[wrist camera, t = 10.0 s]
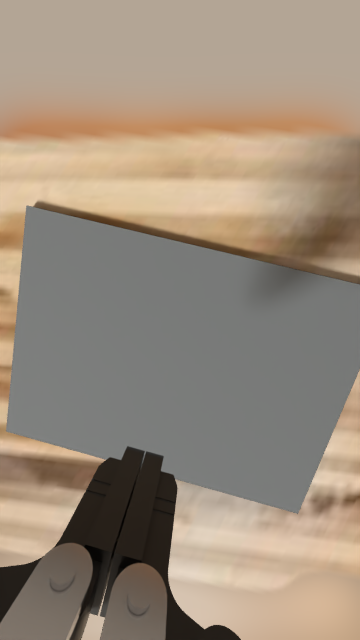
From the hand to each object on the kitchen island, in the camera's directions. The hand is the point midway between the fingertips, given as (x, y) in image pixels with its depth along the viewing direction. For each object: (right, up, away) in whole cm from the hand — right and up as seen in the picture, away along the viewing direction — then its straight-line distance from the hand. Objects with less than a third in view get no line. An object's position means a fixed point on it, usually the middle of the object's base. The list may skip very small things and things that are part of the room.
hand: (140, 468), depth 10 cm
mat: (+1, +2, +10) cm, 10 cm away
